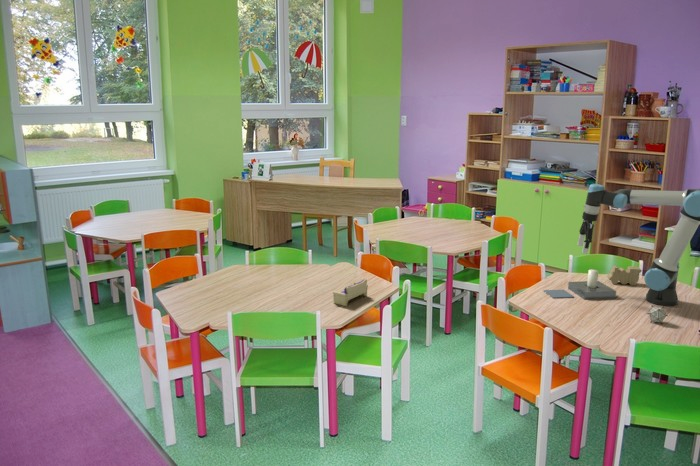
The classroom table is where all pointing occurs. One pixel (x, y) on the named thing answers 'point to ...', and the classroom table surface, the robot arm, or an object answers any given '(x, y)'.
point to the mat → (558, 294)
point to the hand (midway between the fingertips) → (582, 249)
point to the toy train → (624, 275)
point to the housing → (591, 290)
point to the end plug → (592, 279)
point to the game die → (657, 314)
